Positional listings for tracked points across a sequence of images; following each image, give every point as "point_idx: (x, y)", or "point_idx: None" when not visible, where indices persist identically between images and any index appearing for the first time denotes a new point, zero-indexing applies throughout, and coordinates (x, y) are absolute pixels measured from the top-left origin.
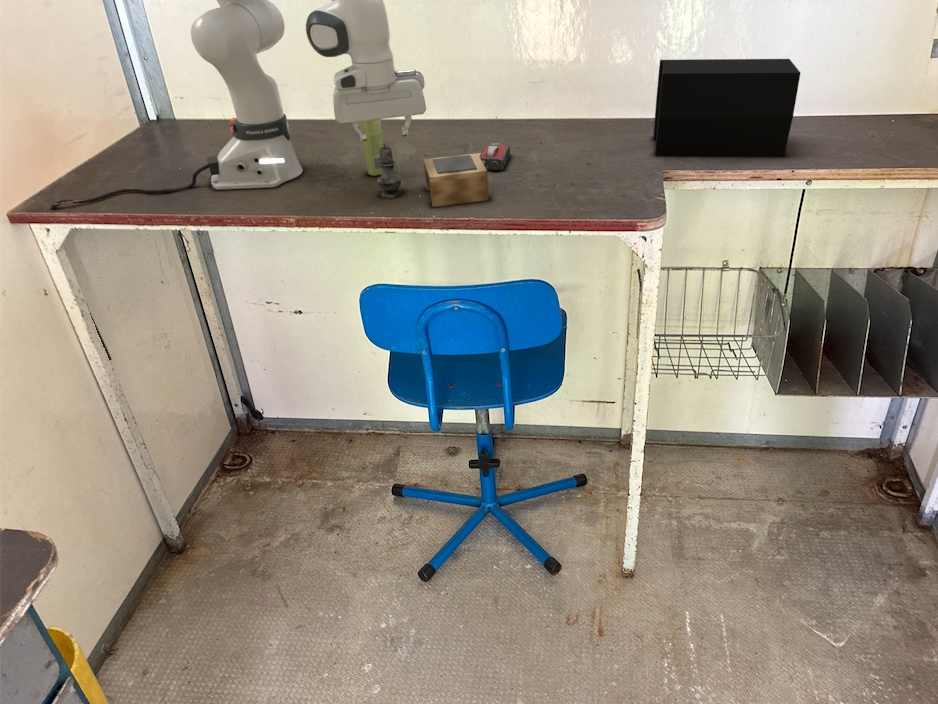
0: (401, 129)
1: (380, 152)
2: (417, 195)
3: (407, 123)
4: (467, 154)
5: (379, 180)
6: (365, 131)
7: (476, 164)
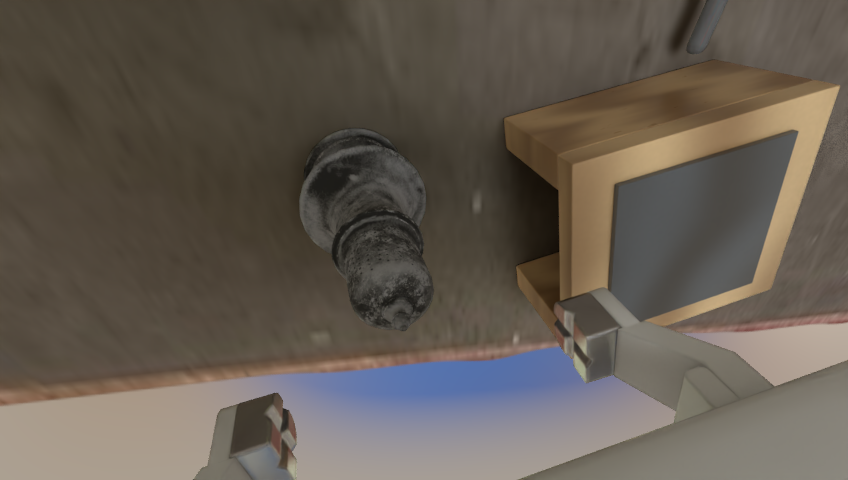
0: (581, 360)
1: (365, 322)
2: (466, 194)
3: (663, 402)
4: (793, 101)
5: (320, 235)
6: (272, 448)
7: (768, 233)
